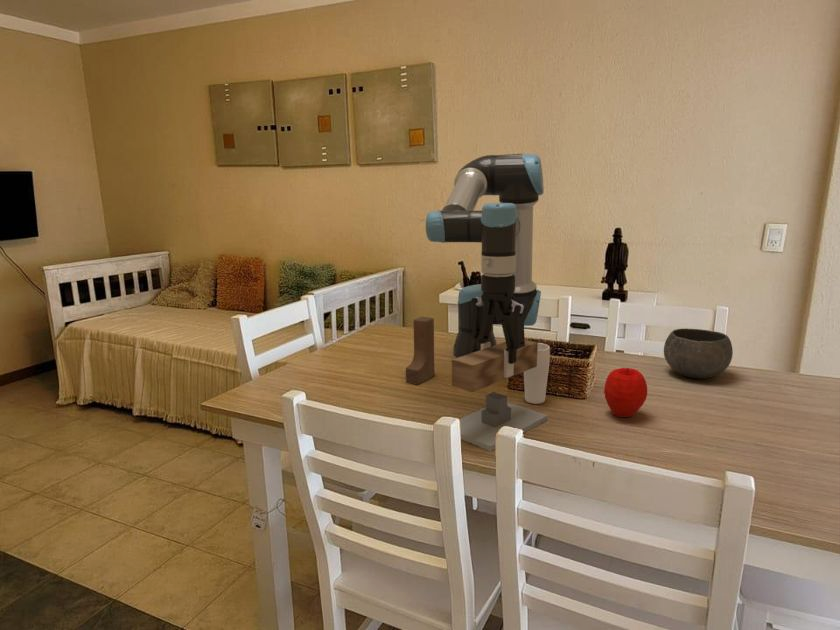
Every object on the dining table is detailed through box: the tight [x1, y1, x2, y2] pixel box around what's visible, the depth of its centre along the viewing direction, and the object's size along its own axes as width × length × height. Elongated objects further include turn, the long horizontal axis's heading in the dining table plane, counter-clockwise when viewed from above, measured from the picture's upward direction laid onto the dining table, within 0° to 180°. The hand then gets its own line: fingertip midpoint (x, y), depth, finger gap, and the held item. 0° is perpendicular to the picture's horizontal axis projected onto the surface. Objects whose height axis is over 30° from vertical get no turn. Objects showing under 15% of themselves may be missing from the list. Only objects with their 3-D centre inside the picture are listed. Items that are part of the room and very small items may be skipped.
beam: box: [451, 339, 539, 393], centre depth 125 cm, size 24×6×6 cm, turn 134°
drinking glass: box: [523, 342, 551, 405], centre depth 142 cm, size 7×7×15 cm
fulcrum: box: [459, 391, 549, 452], centre depth 128 cm, size 22×14×8 cm, turn 134°
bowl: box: [663, 328, 734, 380], centre depth 158 cm, size 18×18×13 cm
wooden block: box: [405, 316, 436, 385], centre depth 159 cm, size 9×4×18 cm, turn 146°
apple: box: [603, 367, 648, 418], centre depth 132 cm, size 10×10×12 cm
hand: (496, 372), depth 126 cm, fingers closed on beam, 6 cm apart
